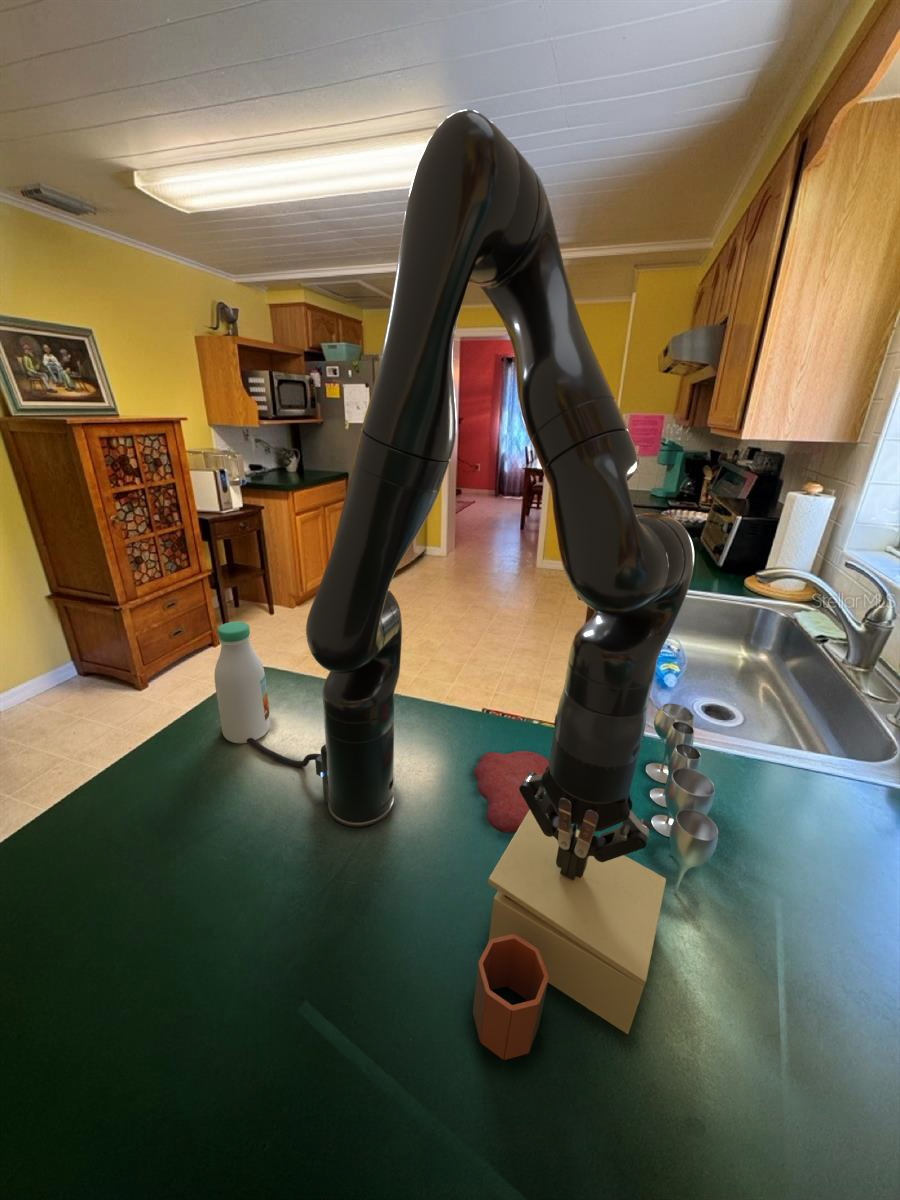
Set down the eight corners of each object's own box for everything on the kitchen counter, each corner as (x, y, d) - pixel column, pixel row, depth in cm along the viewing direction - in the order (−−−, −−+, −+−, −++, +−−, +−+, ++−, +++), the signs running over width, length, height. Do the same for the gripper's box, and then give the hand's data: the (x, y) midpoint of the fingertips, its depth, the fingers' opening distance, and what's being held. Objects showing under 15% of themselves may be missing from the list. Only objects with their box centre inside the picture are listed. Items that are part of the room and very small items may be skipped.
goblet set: (701, 924, 54) (733, 840, 49) (648, 906, 56) (674, 823, 51) (677, 766, 79) (697, 699, 74) (641, 757, 81) (658, 691, 76)
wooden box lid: (487, 883, 48) (488, 878, 47) (531, 809, 57) (532, 804, 57) (643, 987, 41) (646, 981, 41) (664, 883, 50) (666, 878, 50)
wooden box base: (487, 947, 51) (493, 898, 48) (529, 867, 60) (536, 821, 57) (626, 1039, 44) (643, 987, 41) (649, 932, 53) (664, 884, 50)
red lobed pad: (591, 835, 65) (593, 825, 64) (494, 848, 62) (495, 836, 62) (544, 751, 81) (546, 741, 80) (466, 758, 78) (467, 748, 77)
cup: (463, 1034, 44) (468, 980, 41) (491, 975, 48) (498, 923, 45) (520, 1078, 41) (531, 1024, 38) (544, 1012, 45) (555, 959, 42)
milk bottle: (260, 745, 78) (247, 638, 71) (214, 743, 78) (196, 636, 71) (277, 717, 86) (266, 617, 78) (234, 715, 86) (220, 615, 78)
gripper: (680, 740, 43) (642, 875, 49) (542, 692, 49) (524, 818, 55) (668, 791, 37) (626, 938, 43) (512, 730, 43) (496, 866, 49)
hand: (569, 870), depth 49 cm, fingers closed
